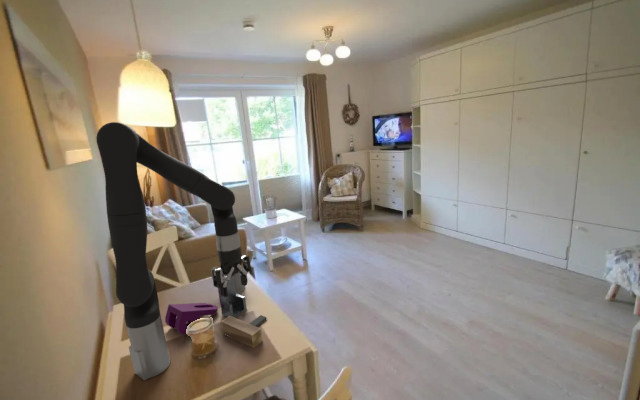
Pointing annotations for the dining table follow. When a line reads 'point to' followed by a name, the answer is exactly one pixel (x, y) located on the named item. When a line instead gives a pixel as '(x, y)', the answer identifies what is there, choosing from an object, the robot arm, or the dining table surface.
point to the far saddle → (258, 320)
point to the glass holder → (235, 282)
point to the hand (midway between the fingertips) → (235, 290)
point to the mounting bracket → (187, 314)
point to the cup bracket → (232, 301)
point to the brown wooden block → (242, 331)
